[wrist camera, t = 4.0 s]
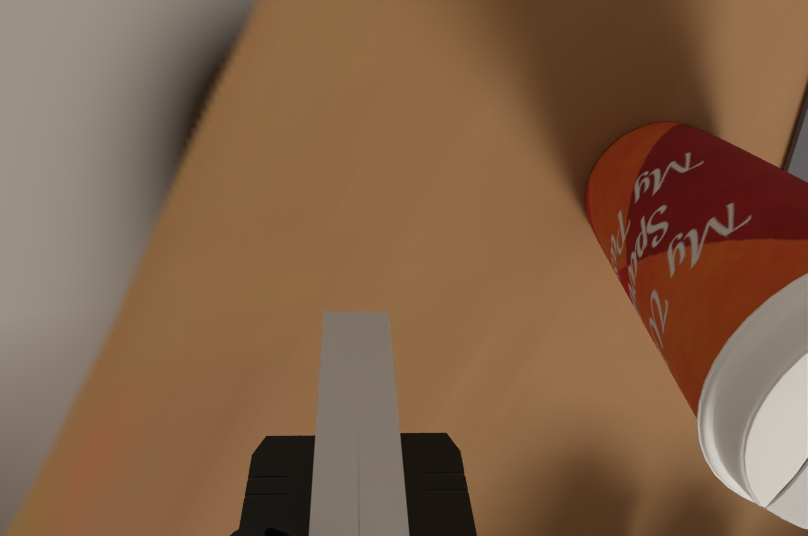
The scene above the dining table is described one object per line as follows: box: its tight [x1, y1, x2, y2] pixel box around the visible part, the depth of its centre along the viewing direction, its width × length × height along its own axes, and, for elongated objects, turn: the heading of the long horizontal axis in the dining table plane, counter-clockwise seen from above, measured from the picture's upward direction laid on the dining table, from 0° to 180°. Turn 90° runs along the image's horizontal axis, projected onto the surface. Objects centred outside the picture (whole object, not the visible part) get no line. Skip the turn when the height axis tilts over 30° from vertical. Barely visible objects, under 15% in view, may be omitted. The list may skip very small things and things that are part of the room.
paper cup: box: [585, 122, 808, 529], centre depth 21 cm, size 8×8×14 cm
